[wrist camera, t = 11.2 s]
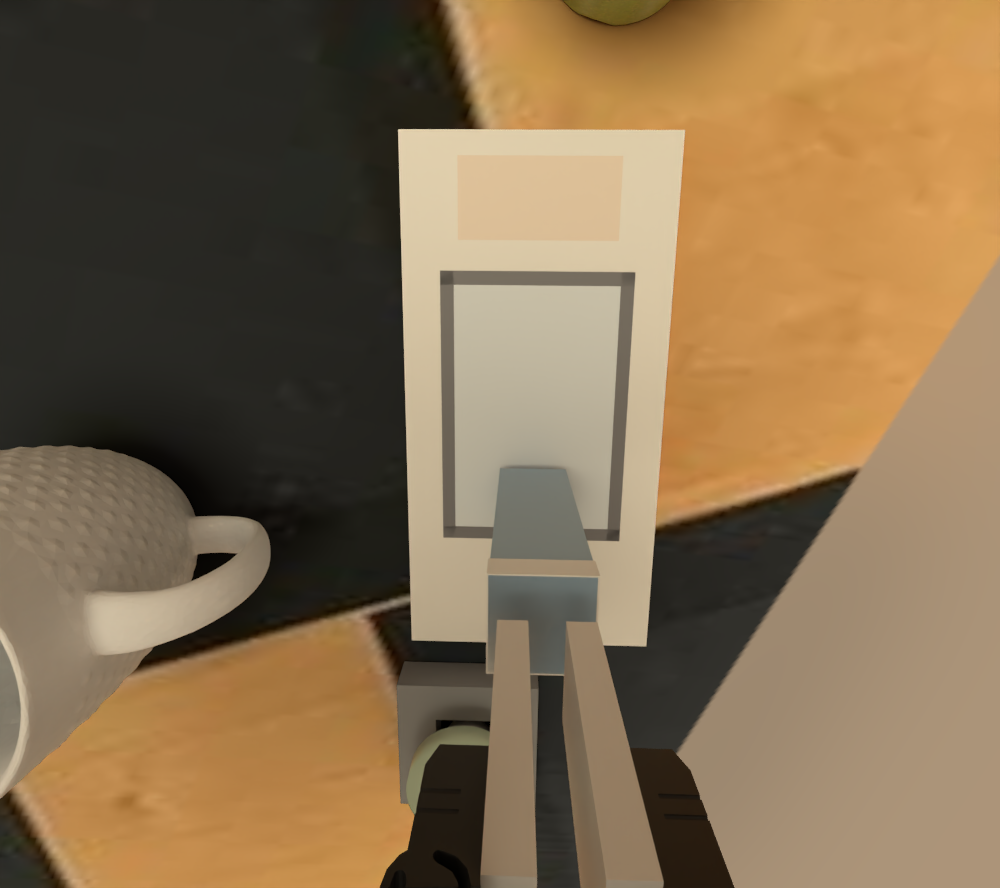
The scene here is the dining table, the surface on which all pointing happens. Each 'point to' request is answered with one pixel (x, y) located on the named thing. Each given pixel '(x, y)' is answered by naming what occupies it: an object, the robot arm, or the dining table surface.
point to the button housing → (445, 704)
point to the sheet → (535, 350)
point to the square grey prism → (539, 565)
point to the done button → (452, 735)
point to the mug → (98, 585)
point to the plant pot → (616, 9)
